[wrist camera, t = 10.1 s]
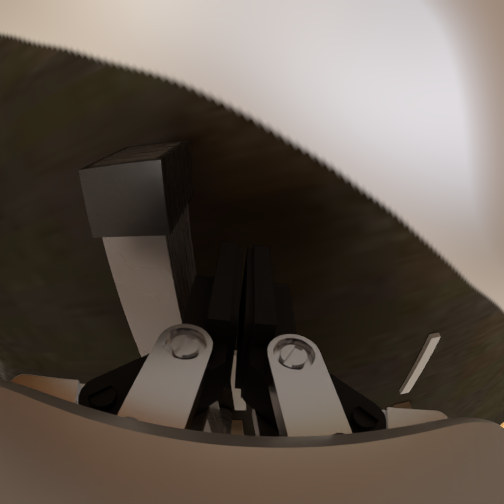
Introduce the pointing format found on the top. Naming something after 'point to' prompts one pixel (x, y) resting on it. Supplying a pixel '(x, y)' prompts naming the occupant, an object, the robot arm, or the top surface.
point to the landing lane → (405, 388)
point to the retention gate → (148, 239)
